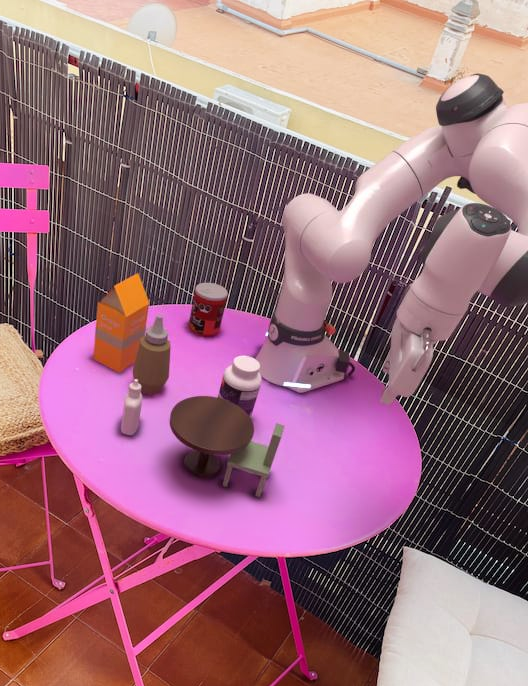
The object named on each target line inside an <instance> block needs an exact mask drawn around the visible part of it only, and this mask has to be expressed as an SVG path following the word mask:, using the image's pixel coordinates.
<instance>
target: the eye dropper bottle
mask: <svg viewBox="0 0 528 686" xmlns="http://www.w3.org/2000/svg"><path fill="white" fill-rule="evenodd" d="M123 401H124V402H123V409H122V417H121V424H120V430H121V431H120V432H121V433H122V434H123V435H127V436H133V435H134V434H135V433H136V432H137V431H138V428H139V423H140V418H141V411H142V404H143V393H141V385H140V384H139V383H138V380H137V379H135V380H134V379H133V381H132V382H131V383H129V385H128V391H127V392H126V395H125V397H124V400H123Z"/></svg>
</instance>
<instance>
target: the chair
mask: <svg viewBox="0 0 528 686" xmlns="http://www.w3.org/2000/svg"><path fill="white" fill-rule="evenodd" d="M284 430H285V425H284V424H280V423H275V425H274V429H273V432H272V434H271V435H272V436H271V439H270V440H269V444H268V445H266V444H263V443H260V442H256V441H253V440H251V442H250V444H249V445H248V446H247V447H246V448H245V449H243V450H241V451H239V452H237V453H234V454H229V457H228V460H227V463H226V466H227V467H226V471H225V475H224V479H223V482H222V486H223V487H226V488H227V487H228V484H229V481H230V478H231V474H232V471H233V468H235V469H237V470H241V471H244V472H247V473H250V474H253V475H257V476H261V477H260V480H259V482H258V485H257V488H256V492H255V494H254V496H255V497H258V498H261V494H262V493H263V492H262V491H263V489H264V485H265V482H266V480H267V479H269V475H270V472H271V469H272V465H273V463H274V460H275V458H276V457H275V456H276V454H277V451H278V448H279V445H280V442H281V439H282V436H283V433H284Z"/></svg>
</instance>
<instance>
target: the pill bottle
mask: <svg viewBox="0 0 528 686" xmlns="http://www.w3.org/2000/svg"><path fill="white" fill-rule="evenodd" d="M259 368H260V364H259V362H258V361H257V360H256V359H255V358H254V357H252V356H248V355H238V356H236V357H234V358H233V360H232V364H231V365H228V366H227V367H226V368H225V370H224V372H223V374H222V378H221V383H220V387H219V390H218V394H217V398H221V399H224V400H227V401H229V402H232V403H234V404H235V405H237V406H239V407H240V408H241V409H243V410H244V411H245V412H246V413H247V414H248V415H249V417H250V418H251V419H252V415H253V412H254V409H255V405H256V403H257V399H258V394H259V393H260V390H261V386H262V381H263V377H261V375H260V373H259Z"/></svg>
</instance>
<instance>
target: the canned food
mask: <svg viewBox="0 0 528 686" xmlns="http://www.w3.org/2000/svg"><path fill="white" fill-rule="evenodd" d="M227 299H228V290H227V289H226V288H225V287H224V286H223V285H220V284H218V283H213V282H201V283H199V284H197V285H196V286H195V288H194V293H193V299H192V304H191V309H190V315H189V320H188V329H189V331H190V332H191V333H193V334H194V335H196V336H198V337H203V338H211V337H215V336H216V335H218V334H219V332H220V330H221V326H222V321H223V317H224V313H225V308H226V304H227Z"/></svg>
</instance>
